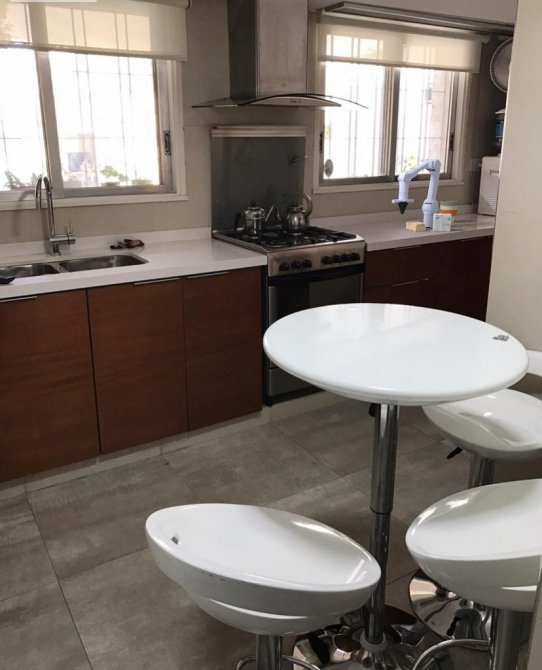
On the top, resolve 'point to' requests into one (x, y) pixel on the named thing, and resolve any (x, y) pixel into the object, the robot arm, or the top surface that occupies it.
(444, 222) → the light bulb box
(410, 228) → the carton
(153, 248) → the top surface
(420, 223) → the lid
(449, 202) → the reusable coffee cup
